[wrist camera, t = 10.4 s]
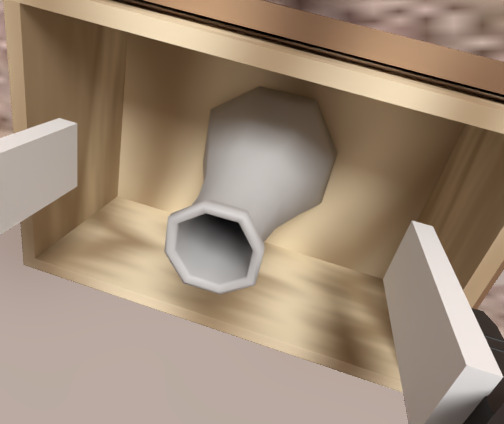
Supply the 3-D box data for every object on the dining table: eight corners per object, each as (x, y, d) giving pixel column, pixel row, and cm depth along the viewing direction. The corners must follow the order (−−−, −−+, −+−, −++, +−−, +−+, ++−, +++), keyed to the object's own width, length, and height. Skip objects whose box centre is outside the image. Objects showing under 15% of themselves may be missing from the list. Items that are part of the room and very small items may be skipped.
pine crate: (114, 197, 25) (23, 264, 18) (126, -5, 19) (1, -23, 12) (391, 283, 23) (413, 396, 16) (490, 91, 18) (587, 133, 11)
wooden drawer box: (103, 200, 26) (29, 254, 20) (112, -36, 20) (7, -65, 13) (404, 295, 24) (425, 386, 18) (526, 70, 18) (622, 92, 12)
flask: (192, 92, 20) (72, 143, 11) (335, 77, 18) (328, 125, 9) (215, 217, 23) (134, 336, 14) (339, 215, 21) (336, 350, 12)
